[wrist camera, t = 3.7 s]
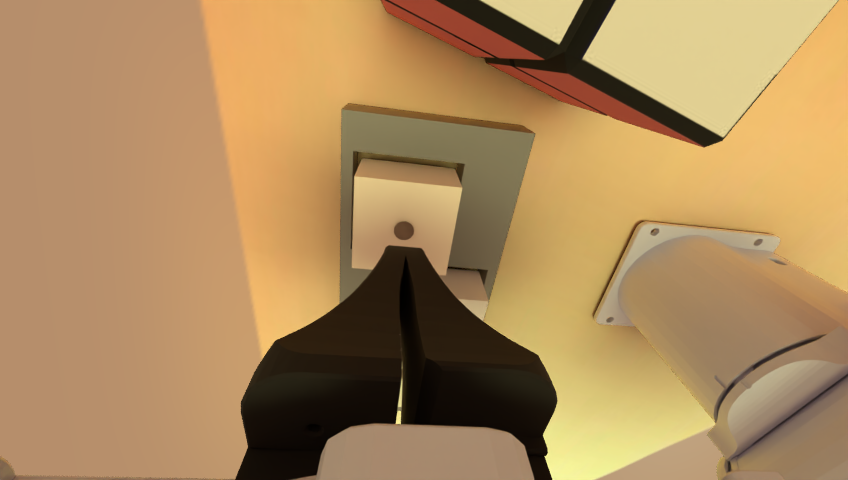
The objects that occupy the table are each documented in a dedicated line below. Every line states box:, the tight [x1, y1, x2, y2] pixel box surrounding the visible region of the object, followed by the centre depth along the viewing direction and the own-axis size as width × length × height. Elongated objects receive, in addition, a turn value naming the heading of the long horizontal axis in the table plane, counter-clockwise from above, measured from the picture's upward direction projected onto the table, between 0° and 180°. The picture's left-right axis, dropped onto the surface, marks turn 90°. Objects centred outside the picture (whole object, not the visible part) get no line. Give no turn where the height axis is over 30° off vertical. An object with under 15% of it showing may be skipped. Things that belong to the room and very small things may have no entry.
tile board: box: [340, 103, 535, 411], centre depth 21 cm, size 9×21×2 cm, turn 173°
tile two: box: [439, 269, 489, 321], centre depth 20 cm, size 5×5×3 cm
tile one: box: [352, 158, 462, 276], centre depth 17 cm, size 5×5×3 cm
